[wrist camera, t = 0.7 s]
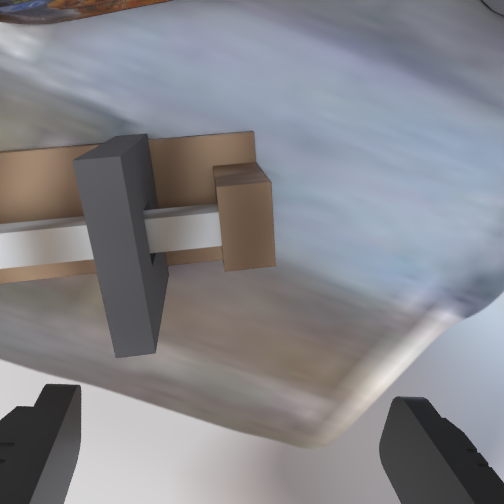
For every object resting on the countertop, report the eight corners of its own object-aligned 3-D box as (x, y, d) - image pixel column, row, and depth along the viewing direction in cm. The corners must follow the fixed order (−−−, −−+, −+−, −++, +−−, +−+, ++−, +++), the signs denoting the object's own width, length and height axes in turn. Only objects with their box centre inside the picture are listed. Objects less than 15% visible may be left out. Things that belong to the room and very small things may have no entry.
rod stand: (252, 131, 29) (269, 144, 22) (260, 250, 33) (277, 296, 25) (-113, 160, 27) (-226, 186, 20) (-66, 285, 31) (-148, 345, 24)
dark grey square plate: (147, 133, 27) (120, 156, 18) (168, 274, 31) (155, 353, 22) (115, 136, 27) (72, 160, 18) (141, 277, 31) (115, 358, 21)
